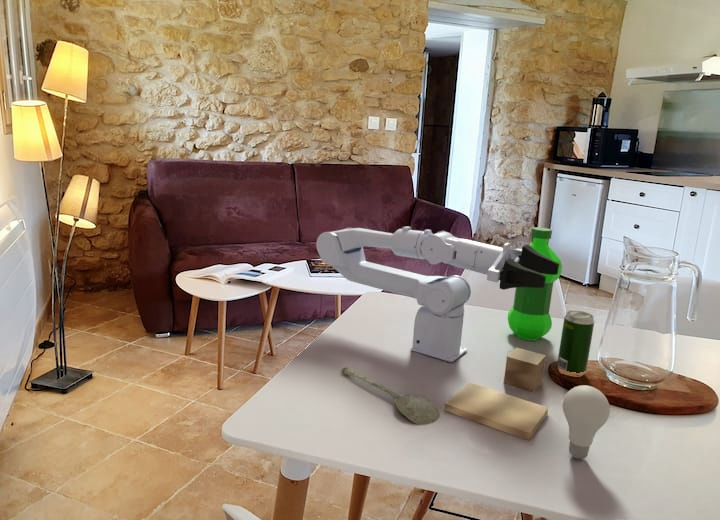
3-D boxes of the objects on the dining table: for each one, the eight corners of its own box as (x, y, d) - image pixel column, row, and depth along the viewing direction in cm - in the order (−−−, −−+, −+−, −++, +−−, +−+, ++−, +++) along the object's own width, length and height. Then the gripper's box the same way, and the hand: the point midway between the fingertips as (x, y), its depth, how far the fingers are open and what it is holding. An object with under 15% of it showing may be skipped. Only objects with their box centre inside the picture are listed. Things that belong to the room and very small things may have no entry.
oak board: (444, 410, 89) (445, 403, 89) (468, 388, 97) (469, 382, 97) (528, 440, 82) (529, 433, 82) (547, 414, 90) (548, 407, 90)
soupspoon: (419, 436, 83) (446, 424, 88) (422, 416, 83) (449, 405, 87) (330, 378, 99) (357, 371, 103) (332, 361, 98) (359, 354, 103)
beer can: (574, 380, 103) (583, 321, 100) (550, 369, 108) (559, 312, 105) (591, 375, 106) (601, 317, 103) (567, 364, 110) (576, 308, 108)
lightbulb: (598, 451, 80) (611, 383, 77) (601, 475, 74) (615, 402, 72) (554, 442, 82) (565, 374, 79) (554, 464, 76) (566, 392, 74)
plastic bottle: (495, 334, 125) (508, 227, 119) (520, 325, 132) (534, 223, 126) (534, 348, 118) (550, 235, 112) (558, 338, 125) (575, 231, 119)
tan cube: (503, 384, 100) (506, 356, 99) (513, 374, 105) (516, 347, 103) (533, 393, 97) (537, 364, 96) (541, 382, 102) (546, 355, 101)
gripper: (466, 248, 98) (541, 266, 91) (497, 229, 109) (566, 243, 102) (463, 284, 100) (535, 304, 93) (493, 261, 111) (560, 278, 104)
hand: (551, 275), depth 98 cm, fingers open, 7 cm apart
